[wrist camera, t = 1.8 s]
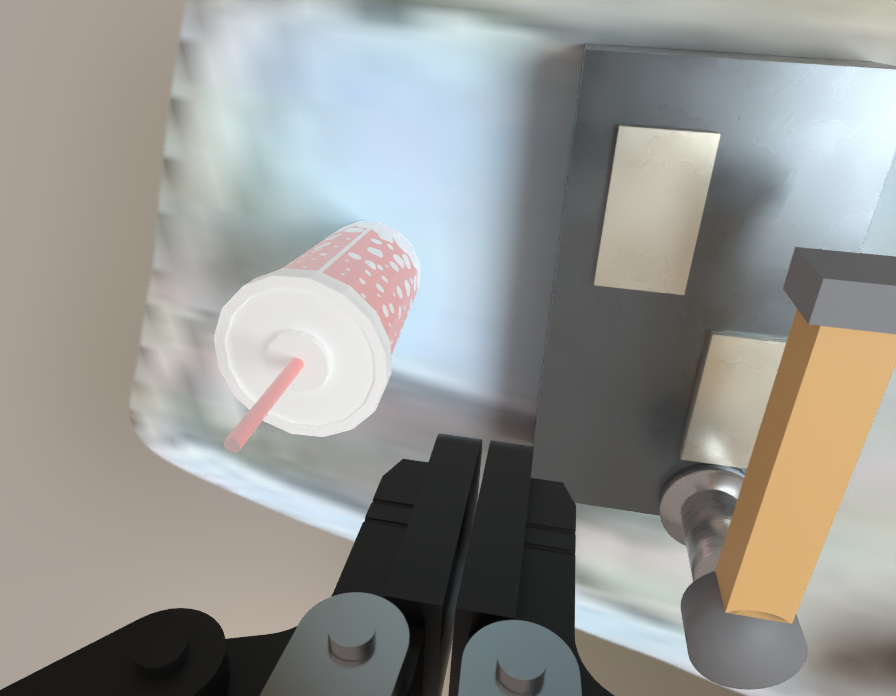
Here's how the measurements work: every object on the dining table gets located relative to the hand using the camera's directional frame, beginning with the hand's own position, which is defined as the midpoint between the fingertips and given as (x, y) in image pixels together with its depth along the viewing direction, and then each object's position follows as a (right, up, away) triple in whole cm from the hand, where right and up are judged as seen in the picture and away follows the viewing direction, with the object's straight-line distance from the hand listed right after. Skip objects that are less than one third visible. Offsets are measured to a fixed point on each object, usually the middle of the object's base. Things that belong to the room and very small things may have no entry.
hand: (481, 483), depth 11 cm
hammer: (+10, -2, +10) cm, 14 cm away
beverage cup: (-4, +6, +20) cm, 21 cm away
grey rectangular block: (+9, +5, +17) cm, 20 cm away
